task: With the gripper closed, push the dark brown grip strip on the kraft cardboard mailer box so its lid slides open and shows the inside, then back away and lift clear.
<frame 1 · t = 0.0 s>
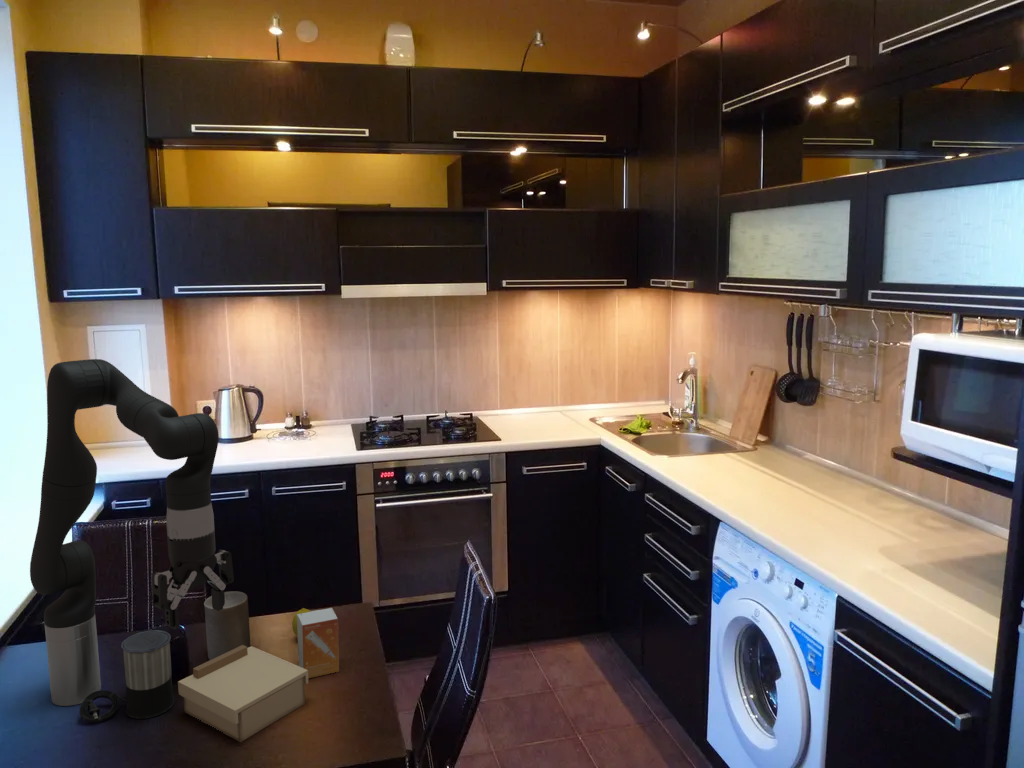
hand: (196, 618, 133), 29 cm above the table, tool pointing down, fingers open, 8 cm apart
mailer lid: (244, 678, 156), point 7 cm above the table, slide at 0.0 cm
milk frother: (129, 711, 156), on the table
lemon: (304, 640, 186), on the table
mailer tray: (245, 707, 157), on the table
small box: (319, 670, 172), on the table
pillar candle: (229, 655, 179), on the table
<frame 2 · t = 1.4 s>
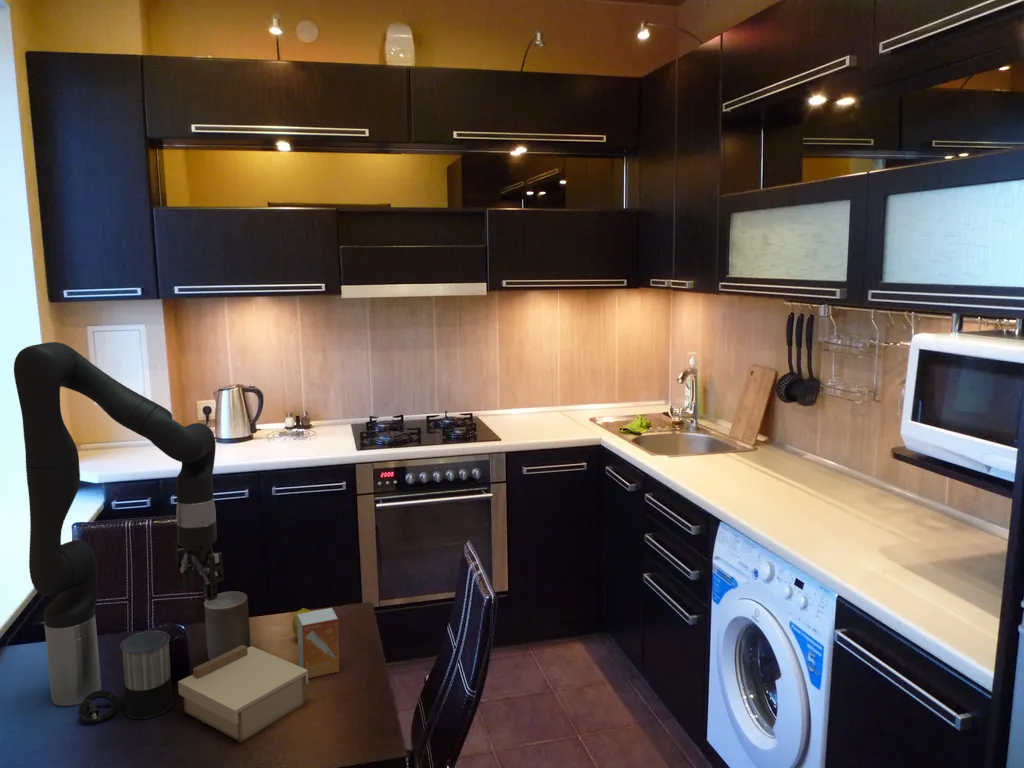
hand: (200, 594, 159), 22 cm above the table, tool pointing down, fingers open, 8 cm apart
nothing on the table moved.
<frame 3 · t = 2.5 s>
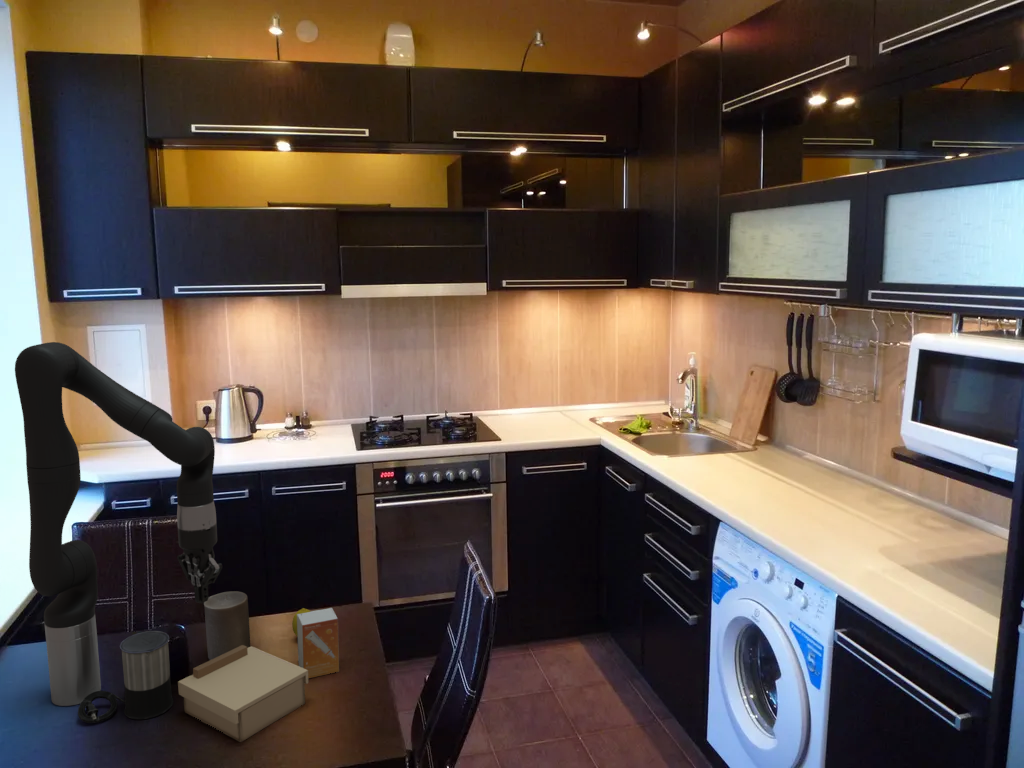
hand: (201, 601, 161), 20 cm above the table, tool pointing down, fingers closed
nothing on the table moved.
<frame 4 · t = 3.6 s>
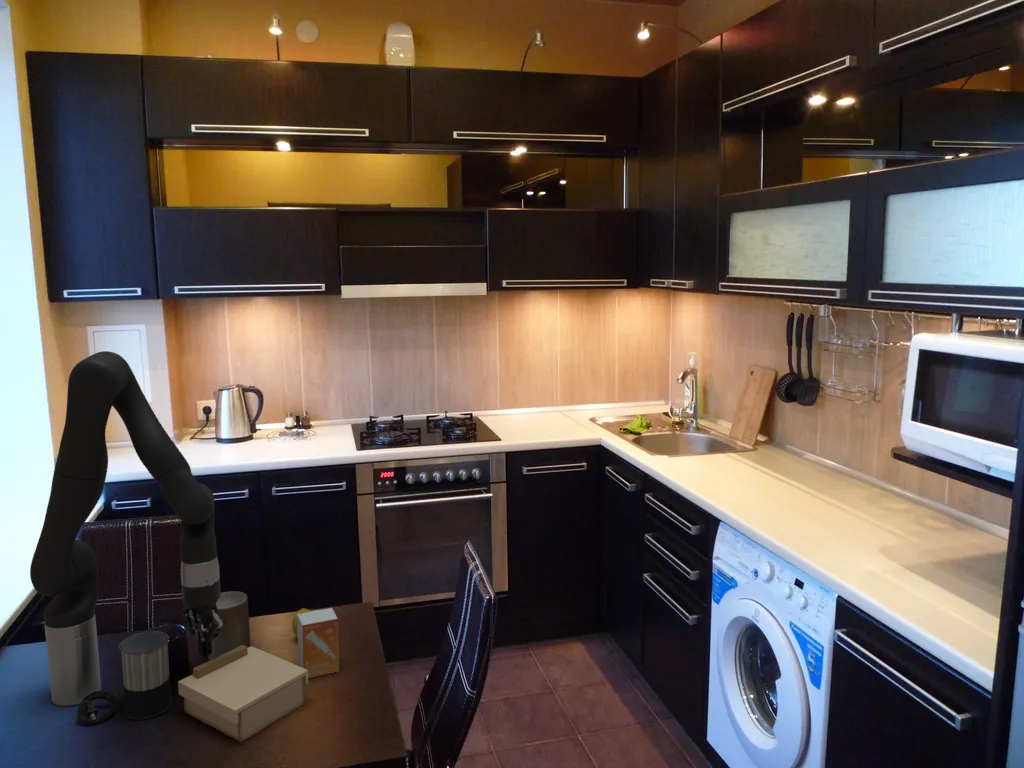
hand: (205, 655, 163), 8 cm above the table, tool pointing down, fingers closed
nothing on the table moved.
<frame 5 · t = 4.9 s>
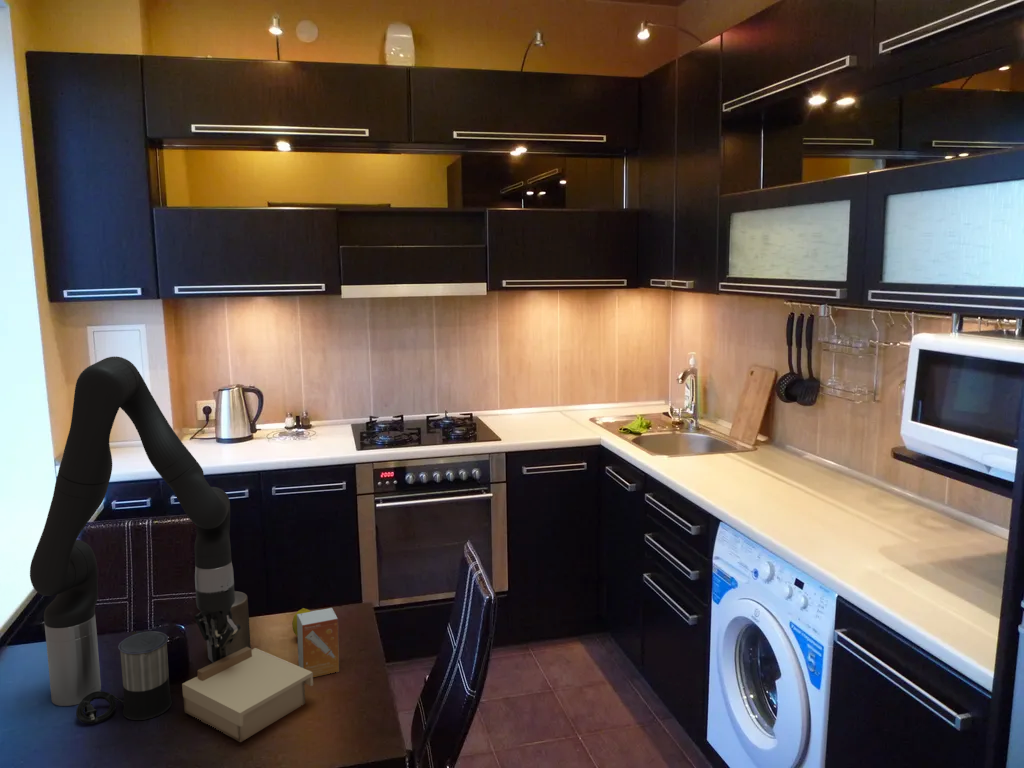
hand: (219, 661, 160), 8 cm above the table, tool pointing down, fingers closed
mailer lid: (248, 680, 155), point 7 cm above the table, slide at 1.4 cm, touching gripper
everything else where it was.
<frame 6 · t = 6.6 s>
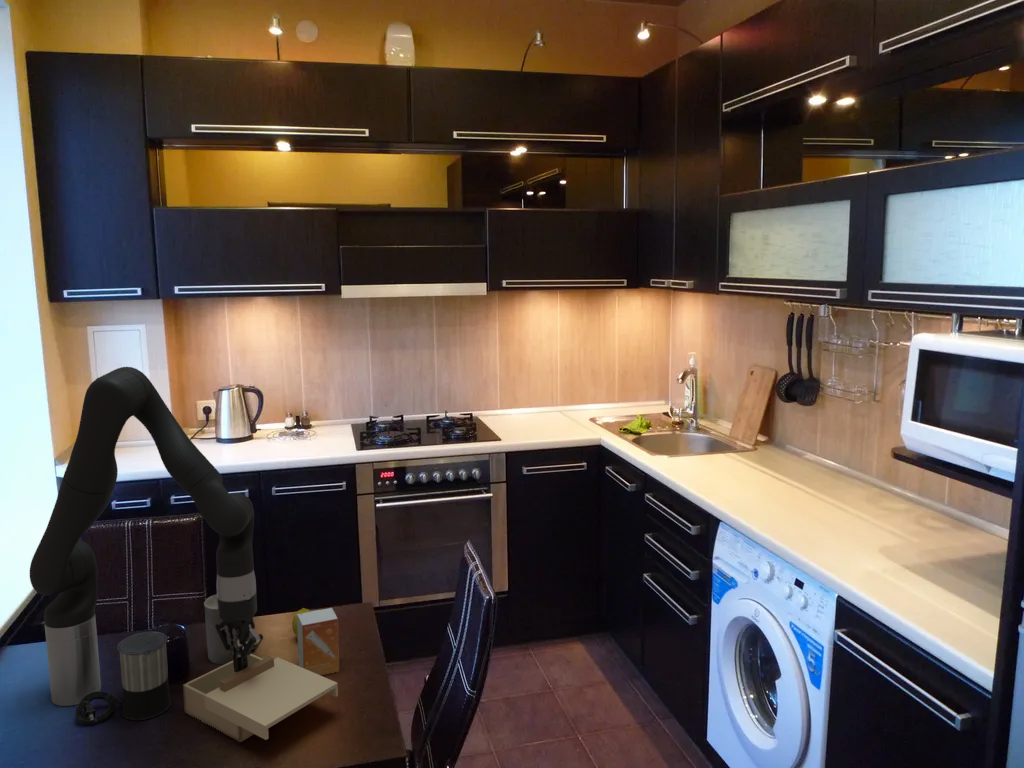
hand: (241, 671, 156), 8 cm above the table, tool pointing down, fingers closed
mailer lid: (272, 691, 151), point 7 cm above the table, slide at 8.8 cm, touching gripper
everything else where it was.
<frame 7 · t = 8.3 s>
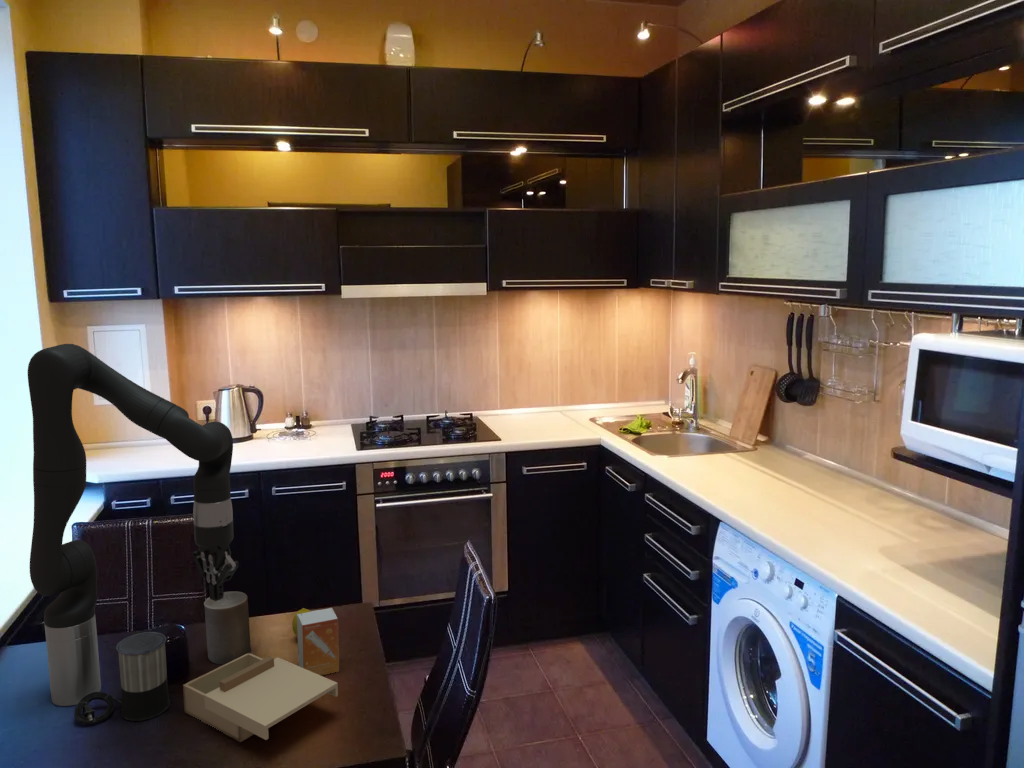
hand: (216, 599, 158), 22 cm above the table, tool pointing down, fingers closed
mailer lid: (272, 691, 151), point 7 cm above the table, slide at 8.8 cm
everything else where it was.
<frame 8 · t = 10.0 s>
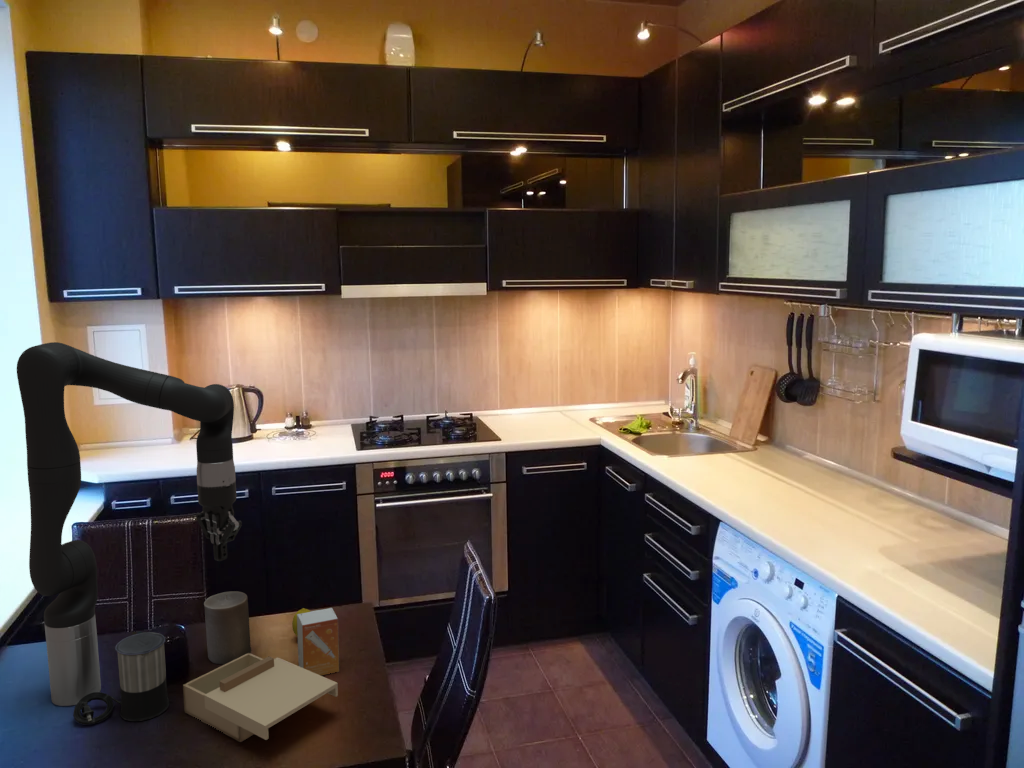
hand: (220, 559, 160), 29 cm above the table, tool pointing down, fingers closed
at the end: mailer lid slide at 8.8 cm; small box moved 0.2 cm from its start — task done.
